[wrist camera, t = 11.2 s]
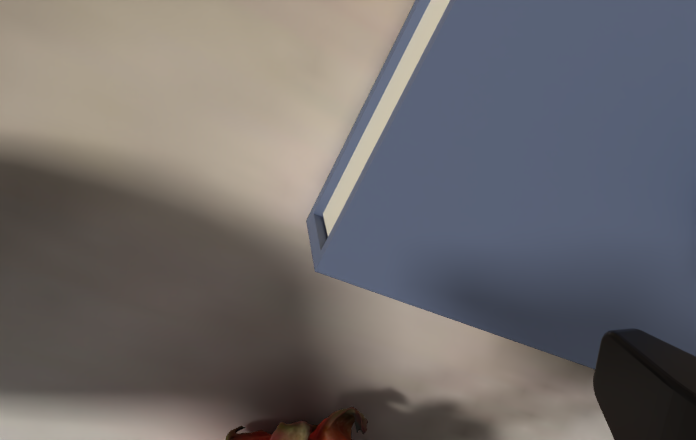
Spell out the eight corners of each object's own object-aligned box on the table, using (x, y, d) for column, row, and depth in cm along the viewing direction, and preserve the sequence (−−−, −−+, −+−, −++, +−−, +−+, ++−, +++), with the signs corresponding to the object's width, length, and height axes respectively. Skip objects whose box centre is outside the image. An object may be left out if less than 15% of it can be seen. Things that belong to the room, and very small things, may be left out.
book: (654, 351, 26) (706, 408, 23) (306, 220, 21) (314, 271, 18) (859, 92, 22) (955, 120, 19) (485, -141, 17) (534, -153, 14)
